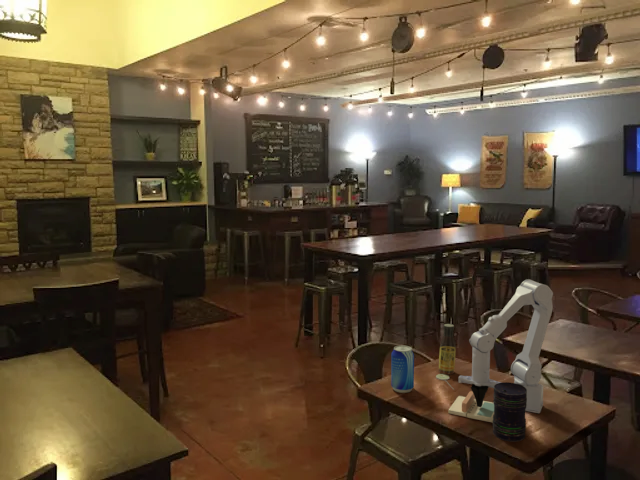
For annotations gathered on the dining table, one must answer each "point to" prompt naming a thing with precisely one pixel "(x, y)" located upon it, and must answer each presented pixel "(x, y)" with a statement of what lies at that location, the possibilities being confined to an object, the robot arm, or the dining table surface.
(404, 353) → the beer can
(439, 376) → the dial probe thermometer
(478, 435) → the dining table surface
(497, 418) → the storage jar
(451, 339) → the sauce bottle
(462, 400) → the cream and brown block
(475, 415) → the cream teal notepad
